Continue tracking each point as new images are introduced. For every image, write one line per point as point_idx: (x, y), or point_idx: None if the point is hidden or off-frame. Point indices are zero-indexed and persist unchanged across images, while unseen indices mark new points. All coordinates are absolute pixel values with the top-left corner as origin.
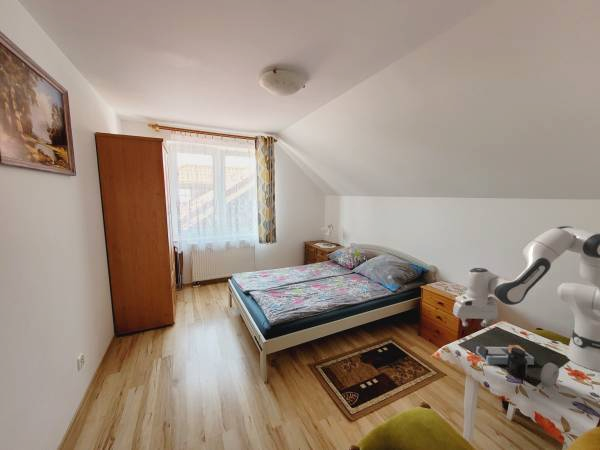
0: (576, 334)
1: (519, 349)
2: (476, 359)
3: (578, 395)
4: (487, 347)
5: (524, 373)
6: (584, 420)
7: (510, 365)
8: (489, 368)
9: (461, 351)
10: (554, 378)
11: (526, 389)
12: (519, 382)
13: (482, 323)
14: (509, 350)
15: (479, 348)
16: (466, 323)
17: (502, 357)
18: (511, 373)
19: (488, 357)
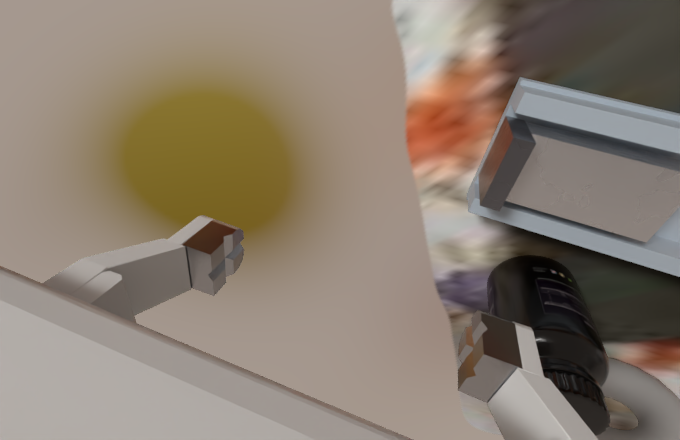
0: None
1: (589, 418)
2: (439, 143)
3: (630, 416)
4: (616, 125)
5: None
6: (481, 424)
7: (491, 312)
8: (435, 217)
9: (417, 42)
10: (624, 404)
11: (455, 331)
12: (474, 309)
13: (476, 361)
14: None
15: (507, 130)
16: (199, 287)
17: (568, 242)
18: (487, 289)
19: (469, 211)
